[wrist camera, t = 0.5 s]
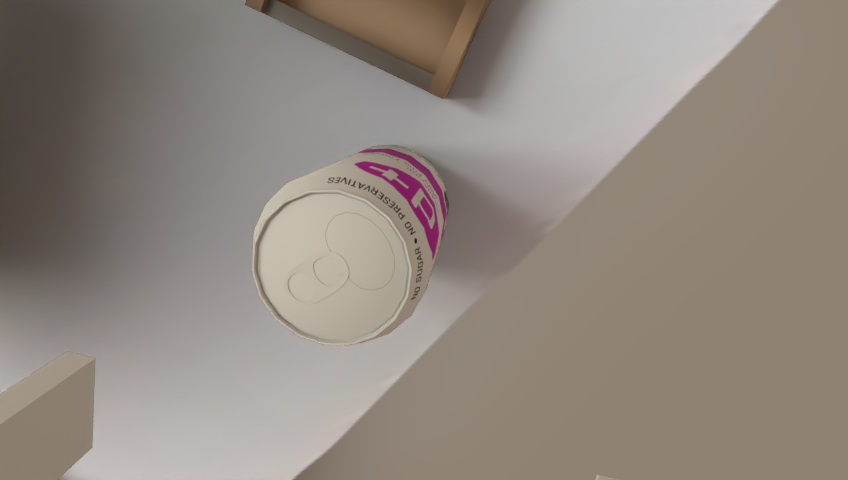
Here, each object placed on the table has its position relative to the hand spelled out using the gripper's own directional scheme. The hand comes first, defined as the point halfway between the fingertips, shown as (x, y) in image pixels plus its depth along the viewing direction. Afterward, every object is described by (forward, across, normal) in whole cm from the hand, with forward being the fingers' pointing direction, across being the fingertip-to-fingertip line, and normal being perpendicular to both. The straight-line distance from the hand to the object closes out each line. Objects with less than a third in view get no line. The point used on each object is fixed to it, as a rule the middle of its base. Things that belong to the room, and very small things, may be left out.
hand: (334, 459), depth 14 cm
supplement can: (+25, -3, +1) cm, 25 cm away
